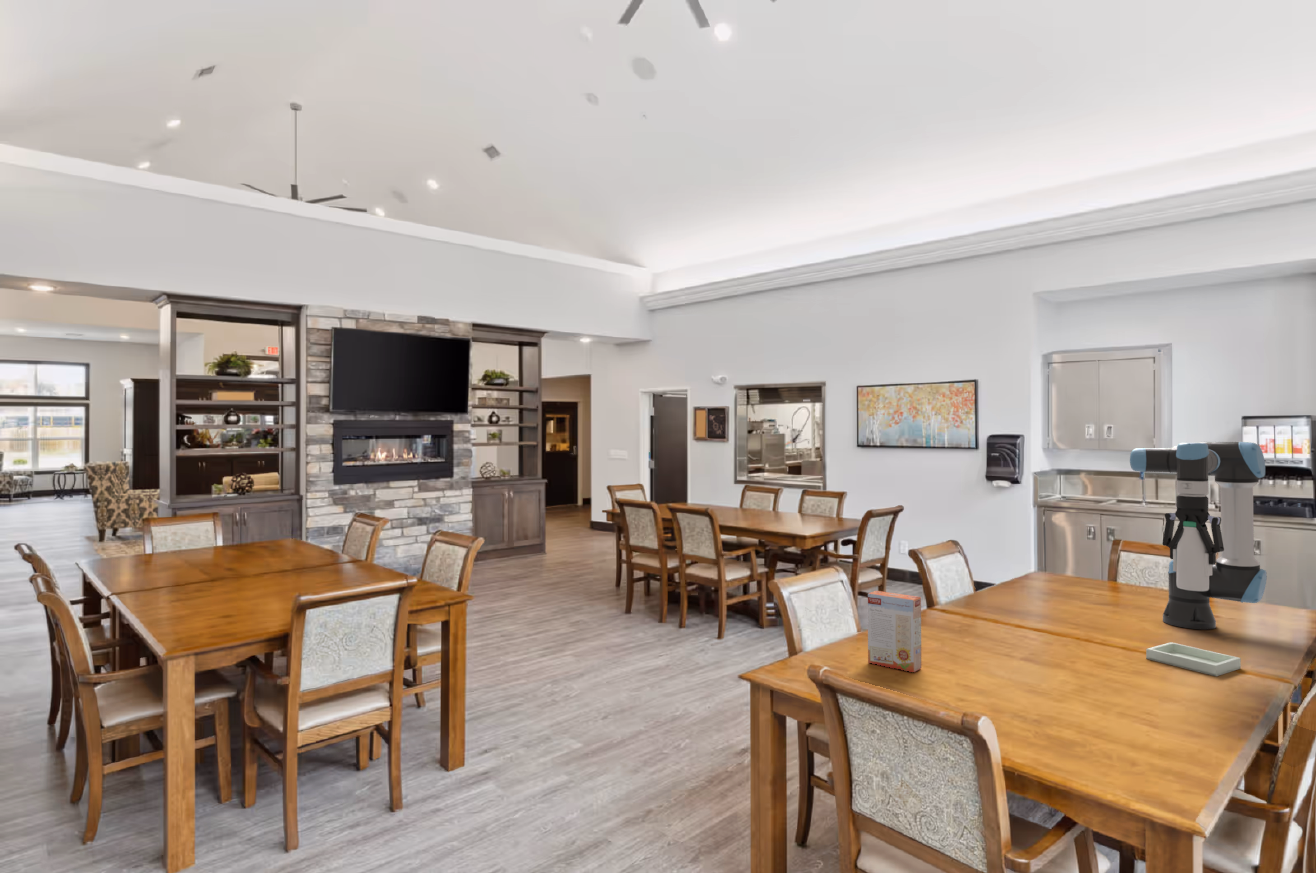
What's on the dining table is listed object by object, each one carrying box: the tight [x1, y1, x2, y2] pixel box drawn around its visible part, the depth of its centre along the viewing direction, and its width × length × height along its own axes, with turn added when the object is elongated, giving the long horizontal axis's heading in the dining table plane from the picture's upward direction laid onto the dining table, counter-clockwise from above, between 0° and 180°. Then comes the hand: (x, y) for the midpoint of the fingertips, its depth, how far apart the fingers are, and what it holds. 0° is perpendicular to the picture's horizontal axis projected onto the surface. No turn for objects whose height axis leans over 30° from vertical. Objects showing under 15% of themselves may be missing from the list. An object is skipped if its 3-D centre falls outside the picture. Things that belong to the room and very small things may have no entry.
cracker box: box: [867, 590, 922, 673], centre depth 209 cm, size 14×6×21 cm, turn 47°
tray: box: [1145, 641, 1242, 677], centre depth 210 cm, size 14×18×3 cm
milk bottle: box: [1176, 521, 1209, 591], centre depth 210 cm, size 8×8×20 cm
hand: (1192, 572), depth 210 cm, fingers closed on milk bottle, 7 cm apart
